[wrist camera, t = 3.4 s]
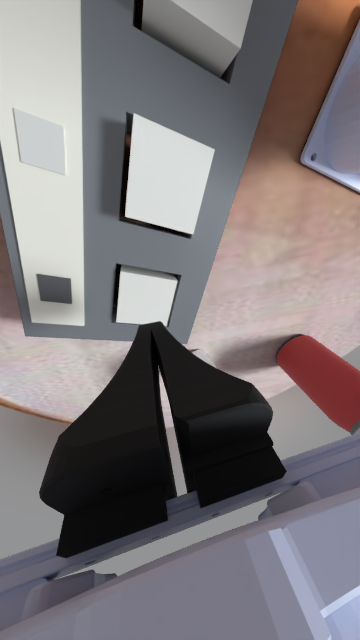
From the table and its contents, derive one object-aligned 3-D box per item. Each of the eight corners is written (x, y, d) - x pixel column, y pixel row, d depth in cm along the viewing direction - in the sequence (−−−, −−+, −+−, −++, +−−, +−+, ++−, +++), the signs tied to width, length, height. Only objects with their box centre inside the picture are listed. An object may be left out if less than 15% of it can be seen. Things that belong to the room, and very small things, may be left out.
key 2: (170, 270, 17) (177, 280, 14) (161, 310, 19) (166, 326, 17) (122, 261, 16) (120, 271, 13) (117, 306, 18) (116, 322, 15)
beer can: (308, 355, 31) (392, 424, 21) (273, 370, 31) (342, 446, 21) (313, 327, 27) (419, 395, 17) (274, 343, 27) (358, 421, 17)
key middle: (197, 161, 12) (214, 149, 10) (182, 230, 14) (193, 234, 12) (132, 134, 11) (133, 113, 9) (125, 215, 13) (124, 216, 11)
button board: (289, -53, 10) (351, -154, 7) (180, 328, 21) (187, 345, 19) (-66, -413, 5) (-276, -1084, 3) (40, 317, 17) (23, 338, 14)
